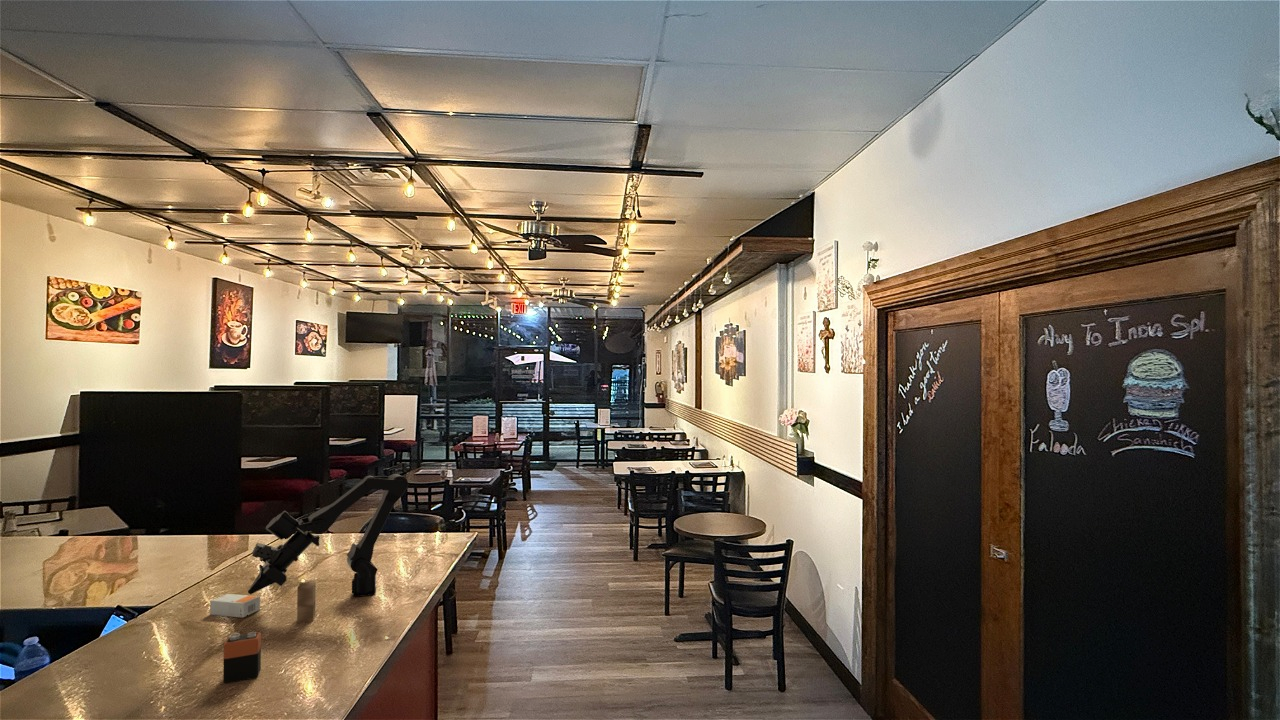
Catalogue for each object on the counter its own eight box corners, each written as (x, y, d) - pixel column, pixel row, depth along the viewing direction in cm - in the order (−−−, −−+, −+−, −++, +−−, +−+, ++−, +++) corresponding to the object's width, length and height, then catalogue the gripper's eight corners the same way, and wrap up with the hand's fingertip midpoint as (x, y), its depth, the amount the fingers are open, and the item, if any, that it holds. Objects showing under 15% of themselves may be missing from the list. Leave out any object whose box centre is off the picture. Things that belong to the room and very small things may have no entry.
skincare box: (243, 603, 174) (209, 600, 176) (243, 617, 174) (209, 615, 176) (260, 595, 180) (227, 593, 182) (260, 609, 179) (227, 607, 182)
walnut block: (315, 615, 175) (315, 581, 175) (312, 621, 171) (313, 586, 171) (299, 617, 174) (300, 583, 174) (297, 623, 170) (297, 587, 170)
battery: (227, 675, 140) (227, 632, 140) (261, 669, 143) (261, 627, 143) (222, 684, 136) (223, 640, 136) (257, 678, 139) (258, 635, 139)
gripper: (268, 526, 186) (224, 568, 179) (273, 539, 171) (226, 586, 164) (297, 547, 190) (255, 589, 184) (304, 562, 175) (259, 609, 168)
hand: (248, 593), depth 175 cm, fingers closed
